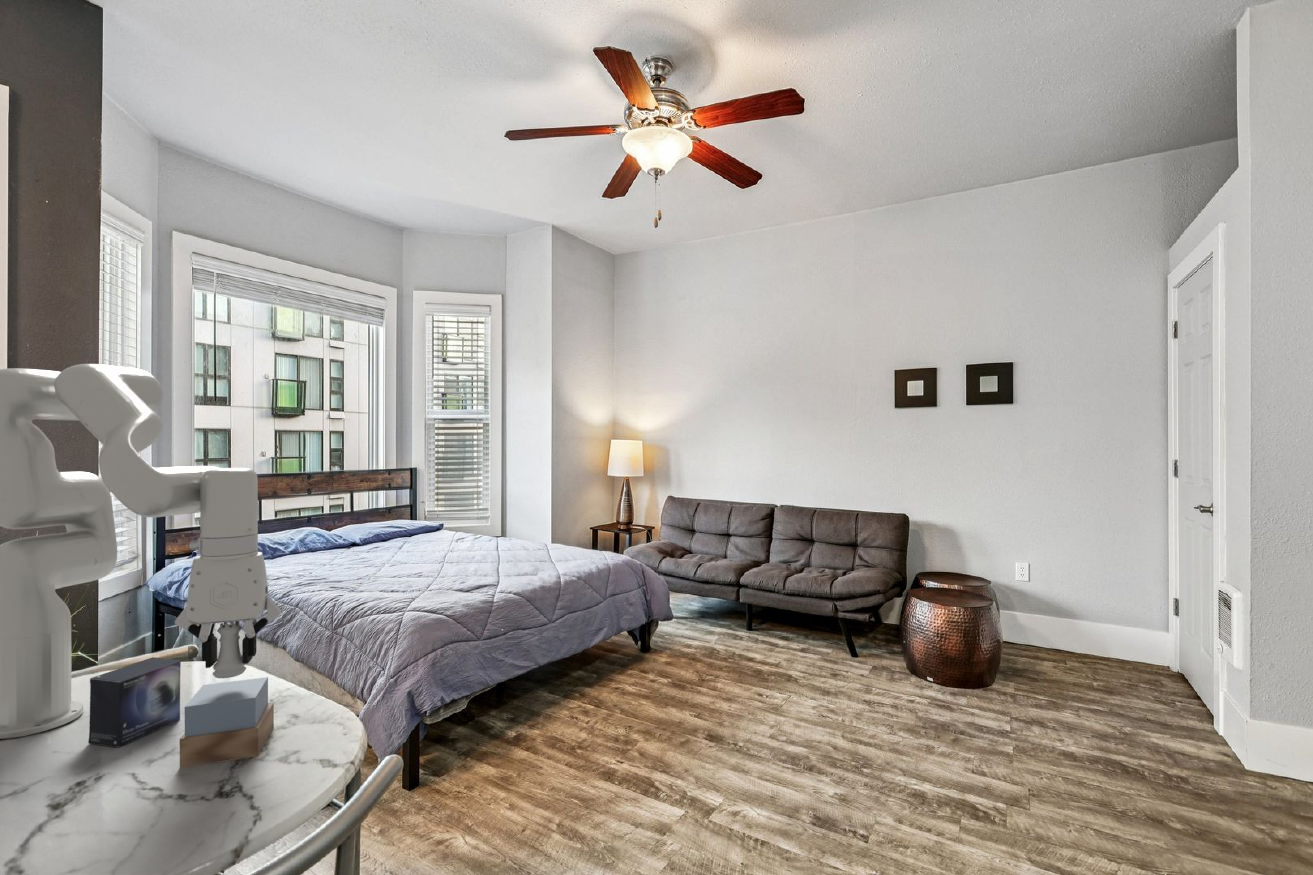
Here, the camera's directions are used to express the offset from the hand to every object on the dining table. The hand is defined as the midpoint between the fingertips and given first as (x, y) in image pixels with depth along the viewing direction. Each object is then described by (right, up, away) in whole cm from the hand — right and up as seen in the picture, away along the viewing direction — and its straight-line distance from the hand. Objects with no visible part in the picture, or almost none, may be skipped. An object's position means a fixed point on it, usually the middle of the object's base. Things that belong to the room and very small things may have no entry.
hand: (229, 661), depth 100 cm
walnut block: (0, -13, 0) cm, 13 cm away
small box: (-19, -13, +5) cm, 23 cm away
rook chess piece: (0, -2, 0) cm, 2 cm away
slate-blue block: (0, -9, 0) cm, 9 cm away
